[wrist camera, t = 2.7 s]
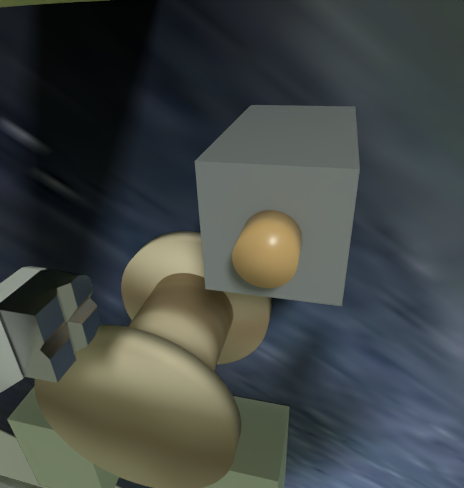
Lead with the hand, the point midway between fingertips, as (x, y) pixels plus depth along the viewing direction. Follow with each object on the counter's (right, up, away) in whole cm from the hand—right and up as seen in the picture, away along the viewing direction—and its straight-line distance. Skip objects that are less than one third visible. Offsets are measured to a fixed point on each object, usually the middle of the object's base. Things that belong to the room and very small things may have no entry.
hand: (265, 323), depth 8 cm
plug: (+2, +5, +8) cm, 10 cm away
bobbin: (-3, -1, +13) cm, 14 cm away
